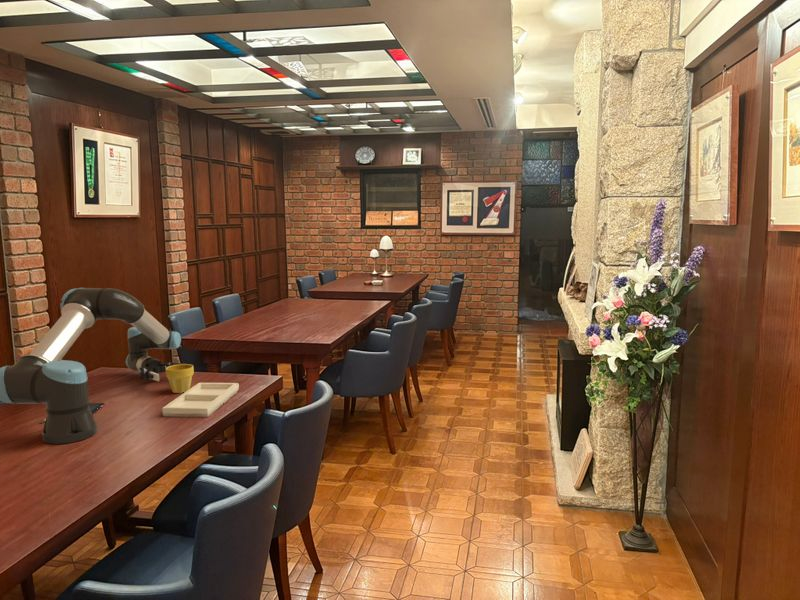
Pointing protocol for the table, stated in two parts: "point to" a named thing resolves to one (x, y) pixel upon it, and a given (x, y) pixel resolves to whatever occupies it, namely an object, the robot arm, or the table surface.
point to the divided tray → (201, 400)
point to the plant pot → (180, 377)
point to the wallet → (92, 407)
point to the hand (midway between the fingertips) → (174, 374)
